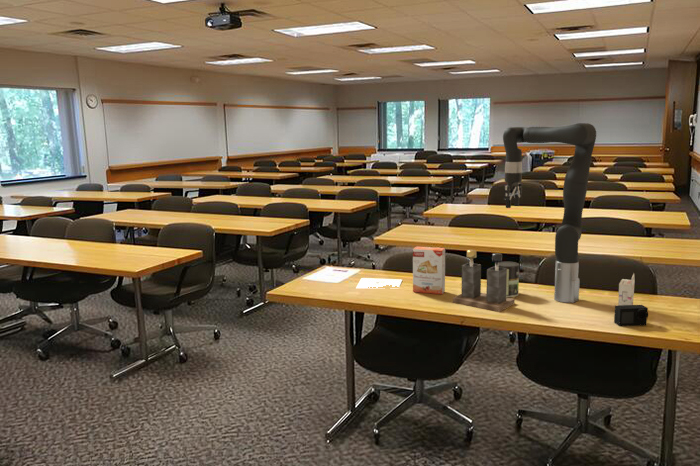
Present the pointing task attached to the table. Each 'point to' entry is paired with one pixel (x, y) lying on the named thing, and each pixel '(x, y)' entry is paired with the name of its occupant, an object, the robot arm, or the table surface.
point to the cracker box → (429, 270)
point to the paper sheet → (378, 282)
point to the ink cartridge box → (626, 291)
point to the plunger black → (497, 259)
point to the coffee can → (511, 277)
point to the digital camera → (630, 315)
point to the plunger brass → (471, 256)
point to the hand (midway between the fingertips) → (512, 206)
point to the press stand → (495, 288)
